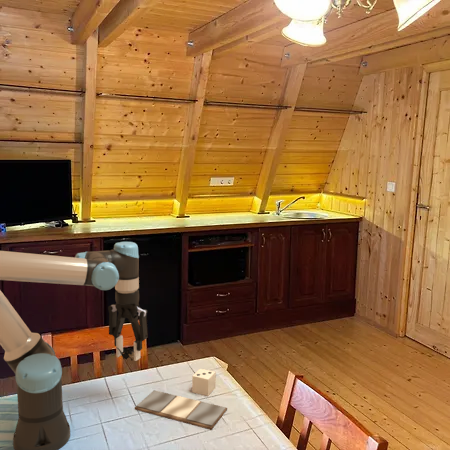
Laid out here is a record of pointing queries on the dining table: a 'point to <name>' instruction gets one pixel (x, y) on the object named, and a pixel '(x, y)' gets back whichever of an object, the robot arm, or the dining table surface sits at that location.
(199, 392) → the die
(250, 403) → the dining table surface
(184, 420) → the board
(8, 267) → the robot arm
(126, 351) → the creature
